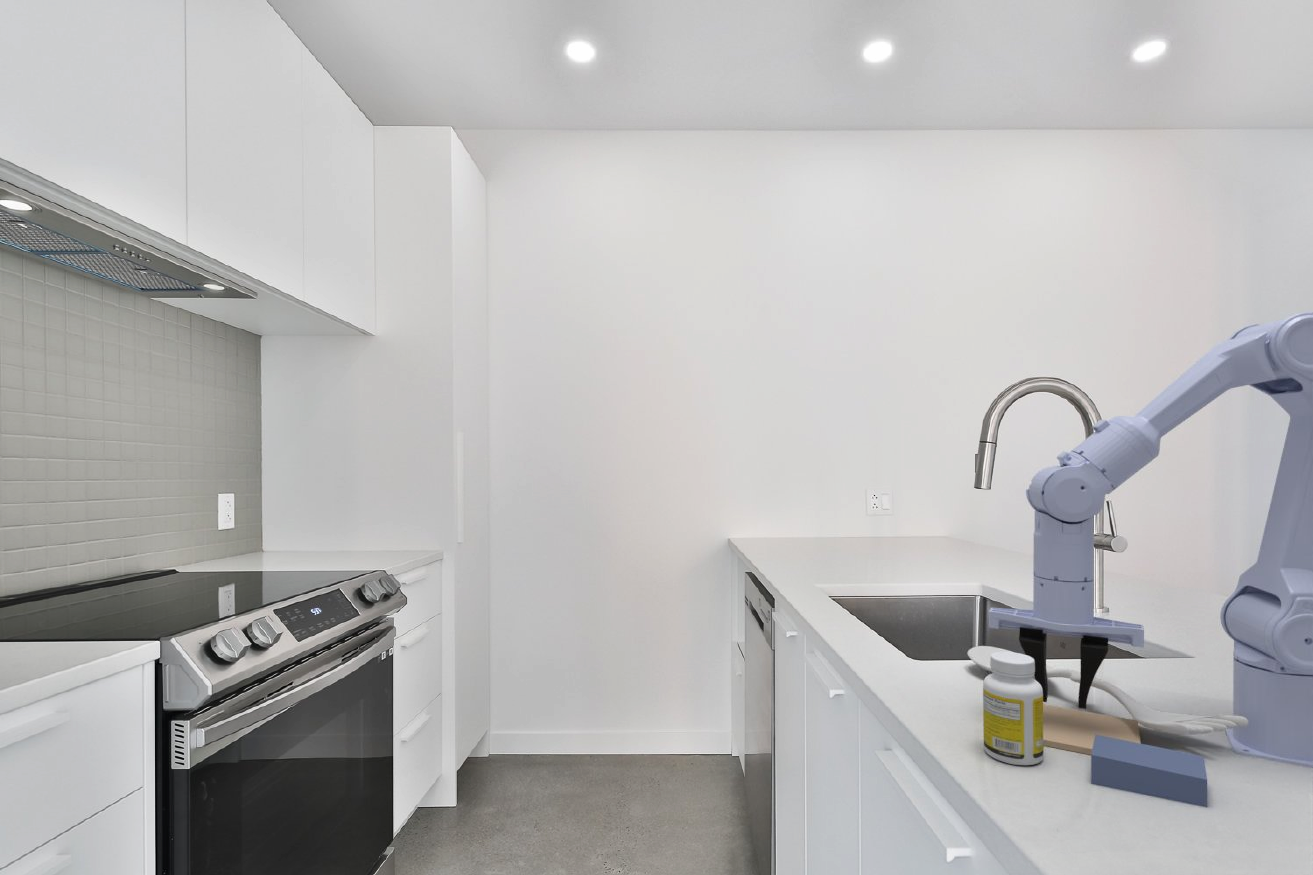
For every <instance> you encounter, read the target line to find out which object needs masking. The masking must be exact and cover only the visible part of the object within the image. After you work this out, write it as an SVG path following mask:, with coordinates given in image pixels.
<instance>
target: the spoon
mask: <svg viewBox="0 0 1313 875" xmlns="http://www.w3.org/2000/svg"><path fill="white" fill-rule="evenodd" d="M995 652H1014V651H1011V650H1009V649H1005V648H999V647H995V646H988V645H979V646H974V647H971V648H969V649H968V651H967V653H966V654H967V656H968V657H969V659H970V660H971V661H972V662H973V663H975V664H976V665H978V666H979V667H981V668H983V669H984V670H985V671H986V670H987V671H988V672H990V673H993V671H992V670H991V666H990V659H991V654H992V653H995ZM1014 653H1016V652H1014ZM1046 671H1047V679H1048V678H1050V679H1051V678H1065V679H1070V680H1071V681H1072V682H1074V683H1078V684H1080V678H1081V671H1077V670H1074V669H1069V668H1054V667H1052V666H1049V665H1047V664H1046ZM1032 678H1033V679H1034V680H1035V677H1034V675H1033V676H1032ZM1091 687H1092V688H1096V689H1098V690H1101V691H1104V692H1105V693H1107V694H1109V695H1110V696H1112V697H1113V698H1114V699H1115V700H1117V701H1118V703H1120V704H1121V705H1122V706H1123V707H1124V709H1125V710H1126V711H1127V712H1128V714H1129V715H1130V716H1131V717H1132V720H1135V721H1137V722H1138V725H1140V726H1143V727H1146V728H1149V729H1152V730H1153V731H1157V732H1161V733H1165V734H1170V735H1171V734H1173V735H1185V736H1186V735H1188V736H1191V735H1202V734H1203V735H1205V734H1211V733H1213V732H1223V731H1225V730H1226V729H1231V728H1235V727H1236V726H1240V727H1244V726H1247V725H1248V723H1249V722H1248V720H1247V719H1246V718H1245V717H1242V716H1235V715H1233V714H1232V715H1231V714H1229V715H1228V714H1224V715H1211V716H1210V715H1209V716H1206V715H1205V716H1204V715H1195V714H1188V713H1180V712H1169V711H1163V710H1157V709H1154V708H1151V707H1149V706H1146V705H1144V704H1142V703H1141V702H1139V701H1137V700H1136V699H1135V698H1133V697H1132V696H1131V695H1129V694H1127V693H1126V692H1125V691H1124V690H1122V689H1121V688H1120V687H1118V686H1116V685H1115V684H1113V683H1110V681H1109V682H1108V681H1107V680H1103V679H1101V678H1098V677H1096V676H1095V677H1094V679H1093V681H1092V684H1091Z"/></svg>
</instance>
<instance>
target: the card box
mask: <svg viewBox="0 0 1313 875" xmlns="http://www.w3.org/2000/svg"><path fill="white" fill-rule="evenodd" d="M1090 756H1091V758H1090V759H1091V762H1090V764H1091V765H1090V768H1091V769H1090V771H1091V772H1090V773H1091V774H1090V775H1091V776H1090V778H1091V779H1090V784H1091V785H1095V786H1100V787H1106V788H1109V789H1110V788H1111V789H1115V790H1119V791H1123V792H1130V793H1134V794H1139V795H1143V796H1149V797H1155V798H1159V799H1164V800H1169V801H1173V802H1179V803H1184V804H1189V805H1193V806H1198V807H1203V808H1208V776H1207V775H1208V774H1207V771H1206V770H1207V768H1206V764H1205V762H1206V761H1205V757H1204V755H1200V754H1199V755H1198V754H1193V753H1190V752H1184V751H1179V750H1174V749H1169V748H1164V747H1159V746H1154V745H1150V744H1146V743H1145V744H1144V743H1141V744H1140V743H1135V742H1130V741H1126V740H1121V739H1116V738H1111V737H1106V736H1101V735H1096V734H1095V738H1094V744H1093V749H1092V754H1091V755H1090Z"/></svg>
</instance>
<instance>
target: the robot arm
mask: <svg viewBox="0 0 1313 875" xmlns="http://www.w3.org/2000/svg"><path fill="white" fill-rule="evenodd" d="M1245 386H1250V387H1252V388H1254V389H1256V390H1258V391H1259V392H1261V393H1263V394H1265V395H1267V396H1270V397H1271V398H1272V400H1274V401H1275V402H1276V403H1277V404H1278V406H1280V407H1281V408H1282V409H1283V410H1284V411H1285V412H1286V413H1287V415H1289V418H1290V419H1289V423H1288V427H1287V432H1286V435H1285V441H1284V444H1283V448H1282V453H1281V457H1280V460H1279V461H1280V462H1279V466H1278V470H1277V474H1276V478H1275V481H1274V482H1275V484H1274V487H1273V490H1272V495H1271V499H1270V504H1269V508H1268V509H1269V510H1268V513H1267V517H1266V521H1265V525H1264V529H1263V535H1262V539H1261V543H1260V547H1259V551H1258V556H1257V560H1256V562H1255V563H1254V564H1253V565H1251V566H1250V567H1249V568H1248V569H1246V570H1245V571H1244V572H1243V573H1242V574H1240V575H1239V578H1238V581H1237V585H1236V588H1235V589H1234V591H1233V593H1231V595H1230V596H1229V597H1228V598H1227V599H1226V600H1225V601H1224V603H1223V605H1222V607H1221V609H1220V616H1219V617H1220V624H1221V626H1222V628H1223V630H1224V632H1225V634H1226V635H1227V636H1228V637H1229V638H1230V639H1232V640H1233V652H1232V655H1233V657H1232V658H1233V662H1232V663H1233V664H1232V665H1233V670H1232V672H1233V674H1232V678H1233V679H1232V680H1233V681H1232V682H1233V684H1232V685H1233V687H1232V690H1233V691H1232V692H1233V694H1232V699H1233V700H1232V711H1233V712H1232V715H1235V716H1242V717H1245V718H1246V719H1247V720H1248V722H1249V723H1248V725H1247V726H1244V727H1240V726H1236V727H1235V728H1231V729H1226V730H1224V732H1225V734H1226V737H1227V739H1228V742H1229V744H1230V748H1231V750H1232V751H1233V753H1234V754H1236V755H1241V756H1246V757H1252V758H1256V759H1262V760H1268V761H1274V762H1278V763H1284V764H1289V765H1295V766H1300V767H1301V766H1302V767H1306V768H1310V769H1312V768H1313V311H1308V312H1307V311H1305V312H1300V313H1297V314H1293V315H1292V314H1291V315H1290V316H1289V317H1286V318H1283V319H1279V320H1273V321H1270V322H1265V323H1262V324H1252V325H1248V326H1244V327H1242V328H1240V329H1238V330H1237V331H1235V332H1234V333H1233V334H1231V335H1230V336H1229V337H1228V339H1227V340H1223V341H1221V342H1220V343H1217V344H1215V345H1214V346H1212V347H1211V348H1210V349H1209V350H1208V351H1207V352H1206V353H1205V354H1204V355H1202V357H1201V358H1200V359H1199V360H1196V362H1195V363H1194V364H1192V365H1191V366H1190V367H1189V368H1187V370H1186V371H1184V373H1183V374H1181V375H1180V376H1179V377H1177V378H1176V380H1175V379H1174V381H1173V382H1172V383H1171V384H1170V385H1168V386H1167V387H1166V388H1165V389H1164V390H1163V391H1162V392H1160V393H1159V394H1158V395H1157V396H1155V398H1153V399H1152V400H1151V401H1150V402H1149V403H1148V404H1147V405H1145V406H1144V407H1143V408H1142V409H1140V411H1139V412H1137V413H1136V414H1135V415H1134V416H1126V415H1115V416H1113V417H1112V418H1111V419H1110V420H1107V419H1100V420H1098V421H1097V422H1096V423H1095V424H1093V425H1092V426H1091V429H1093V431H1094V432H1092V433H1091V434H1090V435H1089V436H1088V437H1087V438H1086V439H1084V440H1083V441H1082V442H1081V443H1080V444H1078V445H1077V446H1075V447H1074V448H1073V449H1072V450H1071V451H1069V452H1067V451H1062V452H1061V453H1060V454H1059V455H1057V456H1056V459H1057V460H1058V461H1059V463H1058V464H1059V465H1052V466H1047V467H1044V468H1042V469H1041V470H1039V471H1038V472H1037V473H1036V474H1035V475H1034V476H1033V477H1032V478H1031V480H1030V482H1031V483H1030V484H1028V485H1029V486H1028V489H1026V490H1025V495H1026V498H1027V501H1028V503H1029V505H1030V506H1031V508H1032V509H1033V510H1034V532H1033V572H1032V573H1033V600H1032V601H1033V602H1032V604H1033V608H1032V609H1019V608H1018V609H1017V608H999V607H990V608H989V610H988V628H990V629H997V630H998V629H1000V628H1001V629H1009V630H1016V631H1019V636H1018V642H1019V644H1020V647H1021V648H1022V651H1023V652H1024V655H1027V656H1030V657H1032V658H1033V659H1034V661H1035V672H1034V673H1035V674H1034V677H1035V679H1034V680H1036V681H1037V682H1038V683H1039V684H1040V685H1041V687H1042V689H1043V703H1047V701H1048V696H1049V695H1048V694H1049V693H1048V692H1049V690H1048V689H1049V686H1048V678H1047V671H1046V665H1047V638H1048V637H1047V635H1054V636H1063V637H1070V638H1071V637H1072V638H1078V639H1080V651H1079V652H1080V672H1081V678H1080V683H1079V689H1078V699H1077V700H1078V704H1077V705H1078V706H1077V707H1078V709H1084V710H1086V709H1087V702H1088V701H1087V700H1088V697H1089V693H1090V690H1091V687H1092V686H1091V684H1092V681H1093V679H1094V677H1096V675H1097V672H1098V670H1099V668H1100V667H1101V665H1102V663H1103V662H1104V660H1105V658H1106V656H1107V654H1108V652H1109V643H1110V642H1111V643H1117V644H1126V645H1131V647H1135V648H1144V647H1145V628H1144V625H1143V624H1139V623H1138V624H1137V623H1132V622H1131V623H1130V622H1125V621H1120V620H1119V621H1118V620H1113V619H1109V618H1102V617H1096V616H1094V615H1095V611H1094V610H1095V602H1094V601H1095V580H1094V579H1095V537H1094V516H1097V515H1099V513H1101V511H1102V509H1103V508H1104V504H1105V502H1106V495H1109V494H1112V493H1113V491H1114V490H1116V489H1117V488H1119V487H1120V486H1121V485H1122V484H1124V483H1125V482H1126V481H1127V480H1129V479H1130V478H1131V477H1132V476H1134V475H1135V474H1137V473H1138V472H1140V471H1141V470H1142V469H1143V468H1144V467H1146V466H1147V465H1148V464H1149V463H1151V462H1153V461H1154V459H1156V458H1158V456H1159V454H1160V450H1161V449H1160V448H1161V439H1162V437H1163V436H1165V435H1166V434H1168V433H1170V432H1171V431H1172V430H1174V429H1175V428H1177V427H1178V426H1180V425H1181V424H1182V423H1184V422H1185V421H1187V419H1189V418H1191V417H1192V416H1193V415H1195V414H1196V413H1197V412H1199V411H1200V410H1202V409H1203V408H1204V407H1207V406H1208V405H1209V404H1211V402H1213V401H1214V400H1216V399H1217V398H1218V397H1220V396H1221V395H1223V394H1225V393H1226V392H1227V391H1229V390H1231V389H1234V388H1240V387H1245Z"/></svg>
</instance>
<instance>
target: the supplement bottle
mask: <svg viewBox="0 0 1313 875" xmlns="http://www.w3.org/2000/svg"><path fill="white" fill-rule="evenodd" d="M990 666H991V670H992V671H993V672H991V673H990V674H988V675H987V676H986V677H985V678H983V679H984V680H983V681H982V682H983V684H982V697H983V698H982V702H983V703H982V705H983V706H982V707H983V710H982V712H983V714H982V716H983V717H982V719H983V720H982V721H983V729H982V730H983V748H984V751H985V752H986V753H987V755H989V756H990V757H992V758H993V759H995V760H996V761H1000V762H1003V763H1005V764H1010V765H1014V766H1031V765H1032V766H1033V765H1036V764H1040V763H1042V761H1043V759H1044V745H1043V704H1044V702H1043V689H1042V687H1041V685H1040V684H1039V683H1038V682H1037V681H1036V680H1035V679H1033V678H1032V676H1033V675H1034V674H1035V673H1034V672H1035V661H1034V659H1033V658H1032V657H1030V656H1027V655H1026V654H1025V653H1020V652H1019V653H1018V652H1015V653H1014V651H1012V652H995V653H992V654H991V659H990Z"/></svg>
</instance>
